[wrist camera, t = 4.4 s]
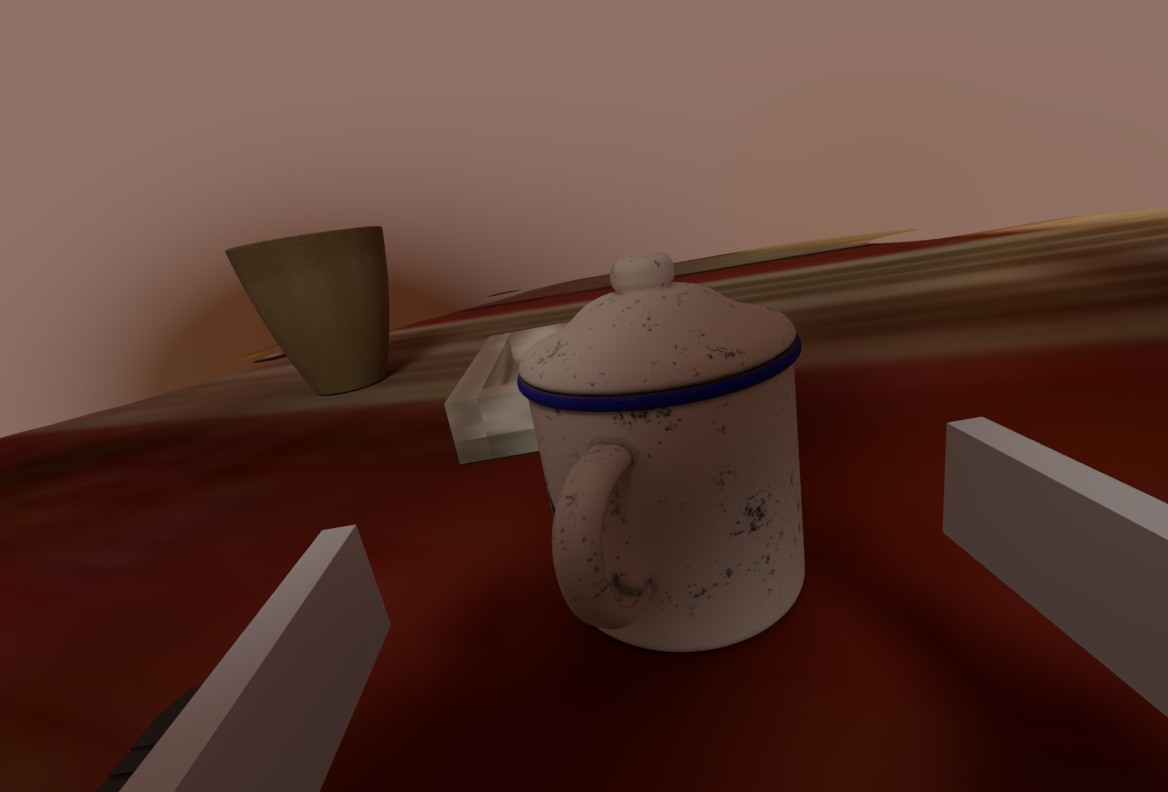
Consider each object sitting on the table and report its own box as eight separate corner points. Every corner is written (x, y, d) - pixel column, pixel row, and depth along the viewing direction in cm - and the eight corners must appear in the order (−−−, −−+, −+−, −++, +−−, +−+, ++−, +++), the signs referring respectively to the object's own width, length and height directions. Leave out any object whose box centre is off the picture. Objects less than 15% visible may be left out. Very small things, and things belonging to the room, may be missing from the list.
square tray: (672, 346, 52) (667, 304, 51) (731, 417, 33) (726, 355, 32) (498, 376, 53) (489, 336, 52) (460, 464, 34) (444, 404, 33)
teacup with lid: (615, 500, 26) (573, 255, 23) (819, 515, 22) (807, 221, 19) (468, 704, 16) (352, 325, 13) (791, 801, 12) (753, 283, 9)
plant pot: (421, 383, 56) (376, 221, 51) (265, 420, 52) (200, 250, 47) (420, 356, 70) (384, 226, 65) (296, 384, 66) (248, 250, 61)
